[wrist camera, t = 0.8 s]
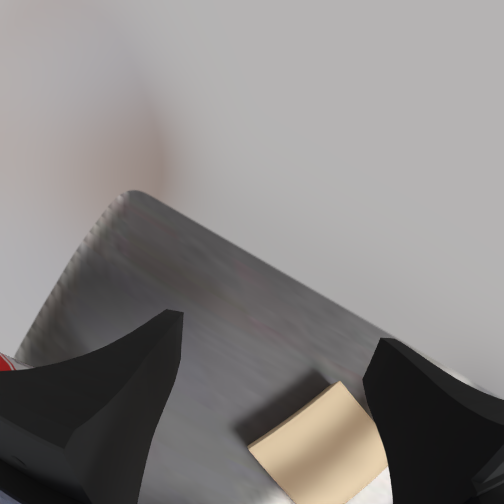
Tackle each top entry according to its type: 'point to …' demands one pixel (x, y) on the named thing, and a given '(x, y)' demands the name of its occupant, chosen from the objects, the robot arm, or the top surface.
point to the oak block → (323, 449)
